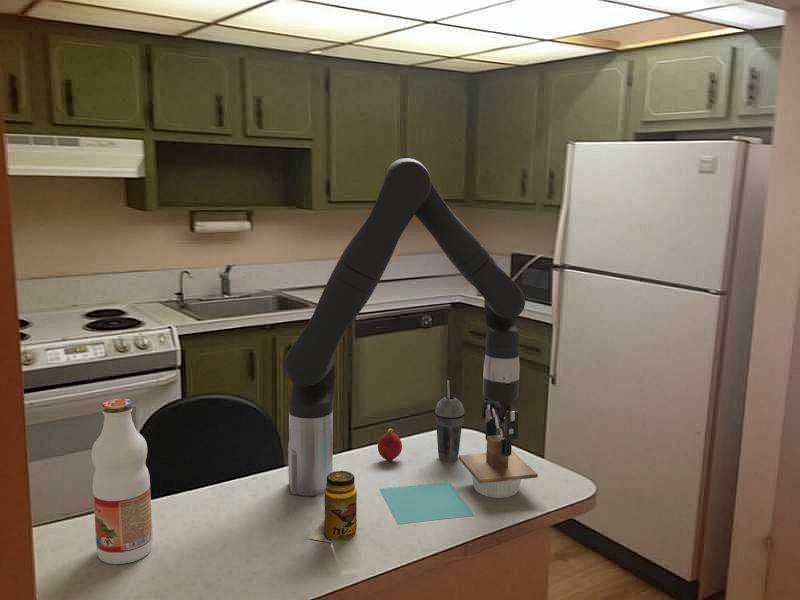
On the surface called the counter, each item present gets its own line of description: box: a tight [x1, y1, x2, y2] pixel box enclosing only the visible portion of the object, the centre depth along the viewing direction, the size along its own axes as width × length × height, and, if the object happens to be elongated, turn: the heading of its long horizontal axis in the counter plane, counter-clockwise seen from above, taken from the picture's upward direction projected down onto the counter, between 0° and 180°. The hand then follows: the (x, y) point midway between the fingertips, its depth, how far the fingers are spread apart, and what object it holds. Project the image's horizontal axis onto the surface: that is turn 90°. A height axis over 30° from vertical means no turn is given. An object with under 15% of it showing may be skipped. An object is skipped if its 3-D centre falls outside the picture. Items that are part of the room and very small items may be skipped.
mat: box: [378, 481, 476, 525], centre depth 149 cm, size 16×16×1 cm
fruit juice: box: [91, 398, 154, 565], centre depth 126 cm, size 9×9×28 cm
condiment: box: [307, 470, 358, 544], centre depth 135 cm, size 7×8×12 cm
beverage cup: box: [434, 380, 466, 462], centre depth 170 cm, size 7×7×20 cm
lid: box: [457, 434, 539, 483], centre depth 155 cm, size 13×13×7 cm
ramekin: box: [471, 474, 522, 499], centre depth 156 cm, size 11×11×5 cm
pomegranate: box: [377, 428, 403, 462], centre depth 170 cm, size 6×6×8 cm
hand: (497, 447), depth 154 cm, fingers open, 8 cm apart
